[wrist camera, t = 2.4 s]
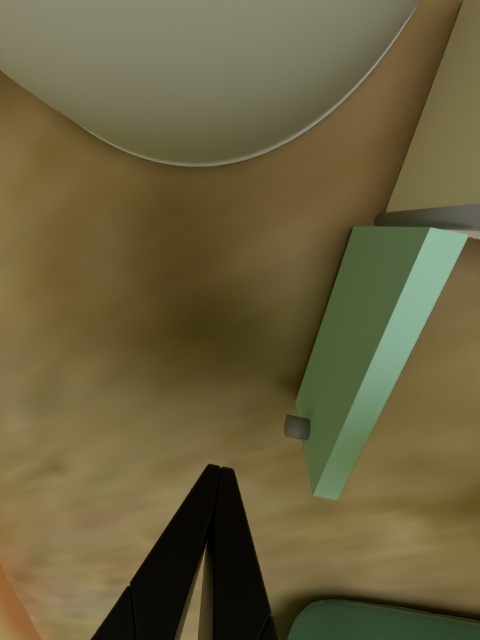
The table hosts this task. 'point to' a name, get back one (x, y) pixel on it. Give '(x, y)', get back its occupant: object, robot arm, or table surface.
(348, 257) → the door
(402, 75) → the table surface
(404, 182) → the cupboard
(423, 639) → the casserole dish
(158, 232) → the table surface
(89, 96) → the kettle
